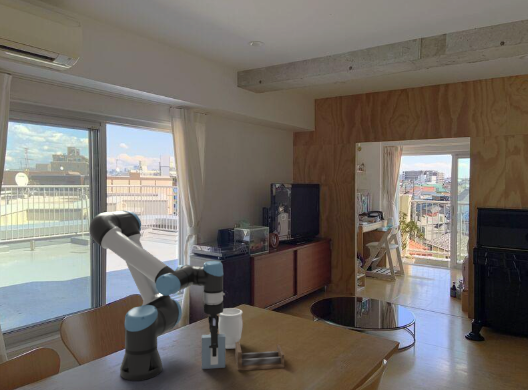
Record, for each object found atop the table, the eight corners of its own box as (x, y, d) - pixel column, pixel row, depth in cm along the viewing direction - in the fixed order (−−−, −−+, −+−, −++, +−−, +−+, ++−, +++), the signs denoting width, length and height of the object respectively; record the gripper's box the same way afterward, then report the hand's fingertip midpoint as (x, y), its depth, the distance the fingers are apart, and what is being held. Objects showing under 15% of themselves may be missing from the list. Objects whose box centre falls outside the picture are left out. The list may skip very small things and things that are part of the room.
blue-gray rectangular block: (201, 369, 151) (201, 338, 150) (201, 365, 154) (201, 335, 153) (225, 367, 152) (225, 336, 152) (224, 363, 155) (224, 333, 155)
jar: (213, 347, 171) (213, 312, 170) (226, 338, 180) (226, 306, 180) (234, 352, 166) (234, 316, 165) (246, 343, 175) (246, 310, 175)
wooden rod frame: (237, 370, 149) (237, 352, 149) (235, 359, 159) (235, 341, 159) (284, 367, 152) (284, 349, 152) (279, 356, 162) (279, 339, 162)
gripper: (225, 311, 140) (225, 370, 141) (221, 292, 165) (221, 342, 166) (203, 312, 139) (204, 372, 140) (203, 293, 164) (203, 344, 164)
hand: (213, 356), depth 153 cm, fingers open, 13 cm apart
